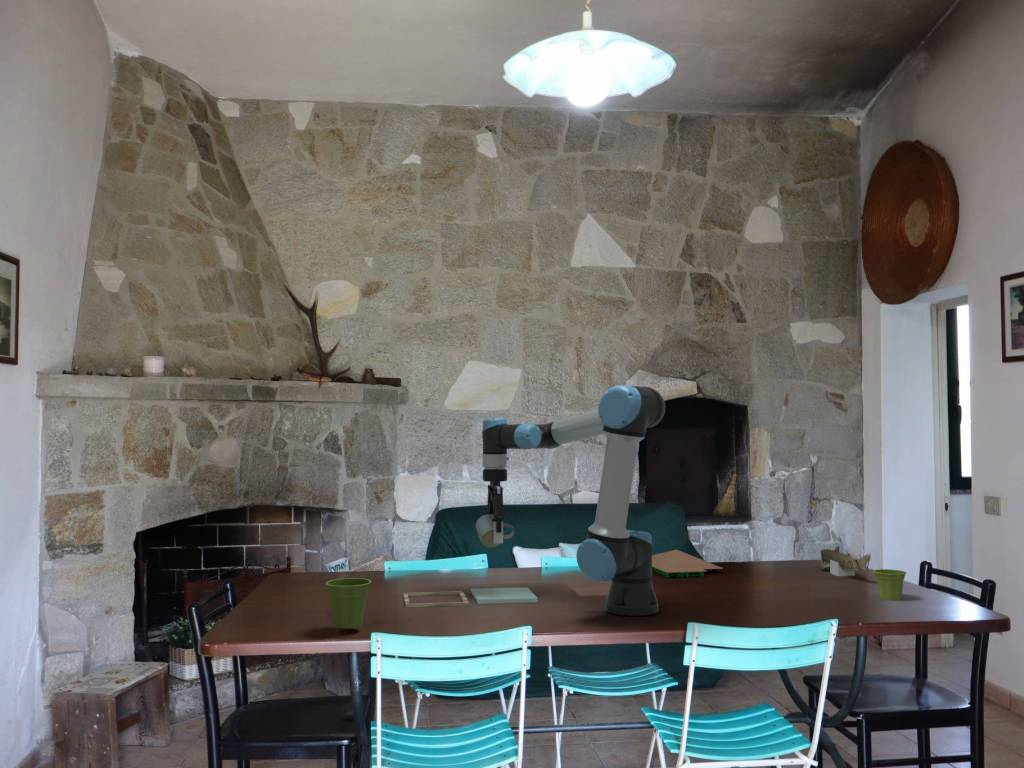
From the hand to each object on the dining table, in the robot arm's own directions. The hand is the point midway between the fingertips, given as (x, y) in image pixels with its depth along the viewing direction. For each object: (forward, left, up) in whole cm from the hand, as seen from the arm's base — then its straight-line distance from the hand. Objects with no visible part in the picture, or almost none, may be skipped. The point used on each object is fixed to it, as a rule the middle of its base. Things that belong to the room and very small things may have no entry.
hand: (495, 541), depth 269 cm
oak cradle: (-1, +18, -17) cm, 25 cm away
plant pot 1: (-31, +43, -17) cm, 56 cm away
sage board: (+1, -3, -17) cm, 17 cm away
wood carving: (+17, -124, -17) cm, 127 cm away
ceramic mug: (0, 0, -2) cm, 2 cm away
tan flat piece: (+40, -73, -18) cm, 85 cm away
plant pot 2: (-19, -119, -17) cm, 121 cm away
